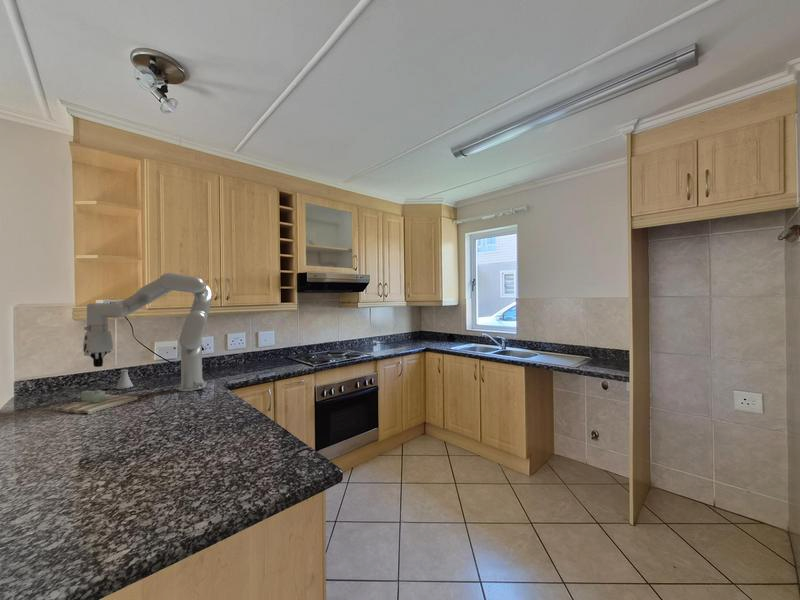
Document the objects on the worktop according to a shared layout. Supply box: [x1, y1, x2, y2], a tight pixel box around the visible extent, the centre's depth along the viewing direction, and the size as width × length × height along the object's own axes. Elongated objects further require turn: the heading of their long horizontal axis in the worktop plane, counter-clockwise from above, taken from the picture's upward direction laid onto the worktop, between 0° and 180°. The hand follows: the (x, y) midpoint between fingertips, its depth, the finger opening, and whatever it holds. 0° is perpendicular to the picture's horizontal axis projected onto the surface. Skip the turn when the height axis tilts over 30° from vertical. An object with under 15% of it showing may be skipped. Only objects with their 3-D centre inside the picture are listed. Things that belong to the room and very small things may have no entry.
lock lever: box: [80, 389, 106, 403], centre depth 150 cm, size 13×5×5 cm, turn 75°
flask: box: [115, 368, 134, 390], centre depth 180 cm, size 7×7×10 cm
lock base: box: [55, 394, 139, 415], centre depth 149 cm, size 20×20×2 cm
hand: (98, 366), depth 157 cm, fingers closed
